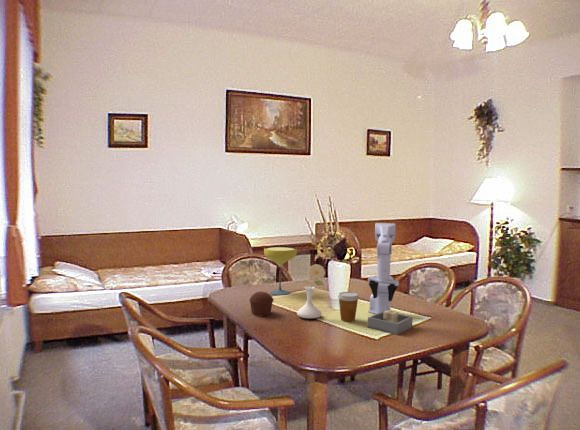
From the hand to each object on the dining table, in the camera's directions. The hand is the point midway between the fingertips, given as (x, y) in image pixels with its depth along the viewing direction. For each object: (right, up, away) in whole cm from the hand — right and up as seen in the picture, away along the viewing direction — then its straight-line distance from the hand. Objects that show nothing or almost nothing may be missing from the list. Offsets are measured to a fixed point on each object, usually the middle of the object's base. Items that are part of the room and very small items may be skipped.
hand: (382, 299), depth 215 cm
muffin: (-55, -9, +12) cm, 57 cm away
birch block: (+2, -10, -6) cm, 12 cm away
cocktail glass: (-47, -6, +52) cm, 71 cm away
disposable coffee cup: (-15, -10, +3) cm, 19 cm away
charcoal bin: (+2, -11, -6) cm, 13 cm away
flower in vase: (-32, -10, +7) cm, 34 cm away
